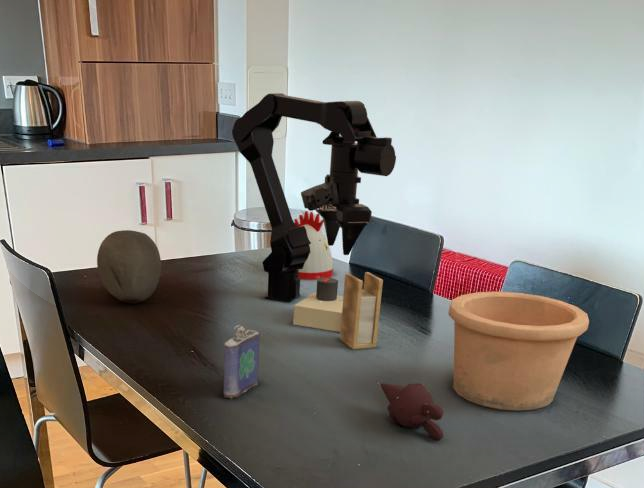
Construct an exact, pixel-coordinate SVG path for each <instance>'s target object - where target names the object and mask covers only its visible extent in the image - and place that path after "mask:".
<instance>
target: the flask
mask: <svg viewBox="0 0 644 488" xmlns="http://www.w3.org/2000/svg"><path fill="white" fill-rule="evenodd" d="M233 330H236V332H235V335H234V336H232V337H231V338H230V339H228V340H227V341H225V342H224V344H223V397H224V398H229V399H234V398H238V397H240V396H241V395H242V394H244V393H246V392H248V390H249V389H250V390H251V388H252V387H253V388H254V387H255V386H257V385H258V384H259V378H258V377H259V359H260V358H259V357H260V338H261V334H260V332H259V331H256V330H254V329H246V328H245V327H243V325H240V324H238V325H235V326H234V328H233Z"/></svg>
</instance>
